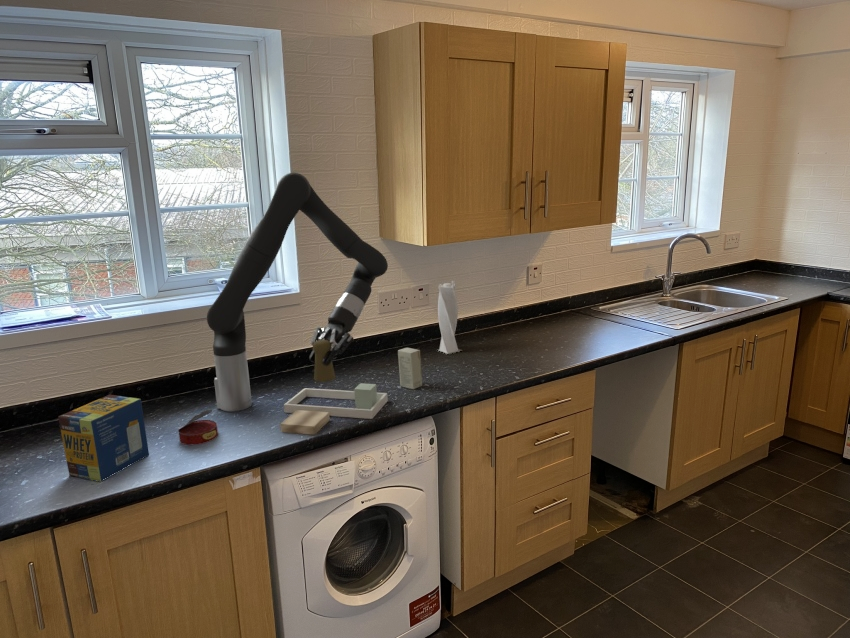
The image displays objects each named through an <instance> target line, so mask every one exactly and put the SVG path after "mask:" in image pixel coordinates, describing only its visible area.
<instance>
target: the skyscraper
mask: <svg viewBox="0 0 850 638" xmlns="http://www.w3.org/2000/svg"><path fill="white" fill-rule="evenodd" d="M455 287H456V281H455V279H453V280H451V282H445V283H443V284H442V283H439V284H438V290H439V292H438V299H437V300H438V301H437V318H438V324H439V330H440V334H441V337H440V344H439V349H437V350H438V351H437V352H439V351H440V352H439V353H441V352H443V353H442V354H444V353H445V354H444V355H447V354H449V355H453V354H456V352H458V353H461V352H460V351H462V352H463V349H460V348H458V344H457V340H456V337H455V334H456V328H457V324H458V317H459V316H458V312H459V311H458V301H457V297H456V291H455ZM452 353H453V354H452Z"/></svg>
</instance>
